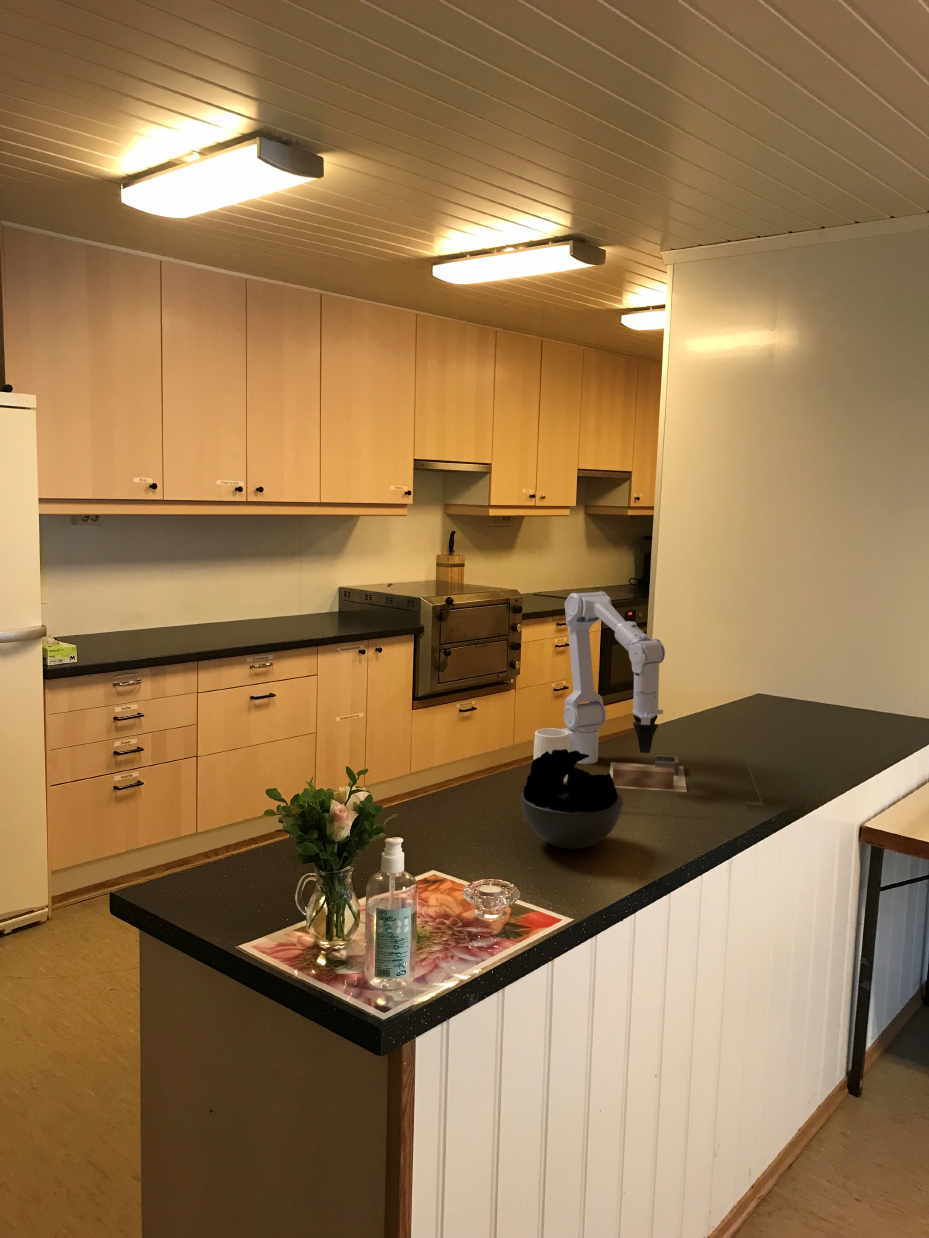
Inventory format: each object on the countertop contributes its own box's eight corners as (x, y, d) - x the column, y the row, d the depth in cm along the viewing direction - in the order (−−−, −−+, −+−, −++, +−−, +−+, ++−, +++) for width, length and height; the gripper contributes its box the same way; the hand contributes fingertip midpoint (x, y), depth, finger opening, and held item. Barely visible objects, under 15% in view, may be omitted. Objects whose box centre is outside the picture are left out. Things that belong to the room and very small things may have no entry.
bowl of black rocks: (556, 821, 208) (558, 735, 206) (640, 843, 196) (643, 751, 193) (499, 847, 193) (500, 754, 190) (586, 873, 180) (588, 774, 178)
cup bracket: (655, 774, 241) (655, 762, 240) (654, 766, 247) (655, 754, 247) (678, 775, 240) (679, 763, 239) (677, 767, 246) (678, 756, 246)
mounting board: (607, 789, 230) (608, 786, 230) (610, 765, 251) (610, 762, 251) (686, 794, 227) (686, 791, 227) (683, 769, 248) (683, 766, 248)
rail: (612, 785, 231) (612, 768, 231) (612, 781, 235) (613, 764, 234) (673, 789, 229) (673, 772, 228) (672, 784, 232) (673, 768, 232)
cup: (567, 798, 224) (568, 737, 222) (530, 795, 225) (531, 735, 224) (570, 787, 232) (572, 728, 230) (535, 785, 234) (536, 726, 232)
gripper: (664, 698, 221) (662, 756, 223) (662, 686, 235) (661, 741, 237) (632, 696, 223) (631, 755, 224) (633, 685, 237) (631, 740, 238)
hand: (644, 748), depth 231 cm, fingers open, 7 cm apart
